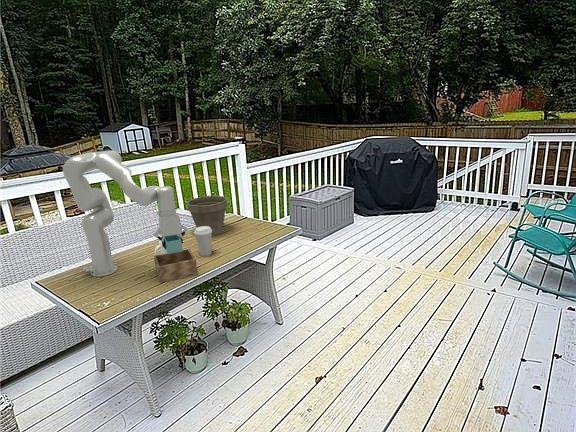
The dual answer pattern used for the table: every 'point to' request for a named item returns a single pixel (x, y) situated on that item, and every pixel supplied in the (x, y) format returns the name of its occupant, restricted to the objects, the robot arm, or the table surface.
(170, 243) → the small crate
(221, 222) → the plant pot
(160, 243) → the mug
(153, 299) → the table surface
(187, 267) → the big crate
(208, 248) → the coffee cup
